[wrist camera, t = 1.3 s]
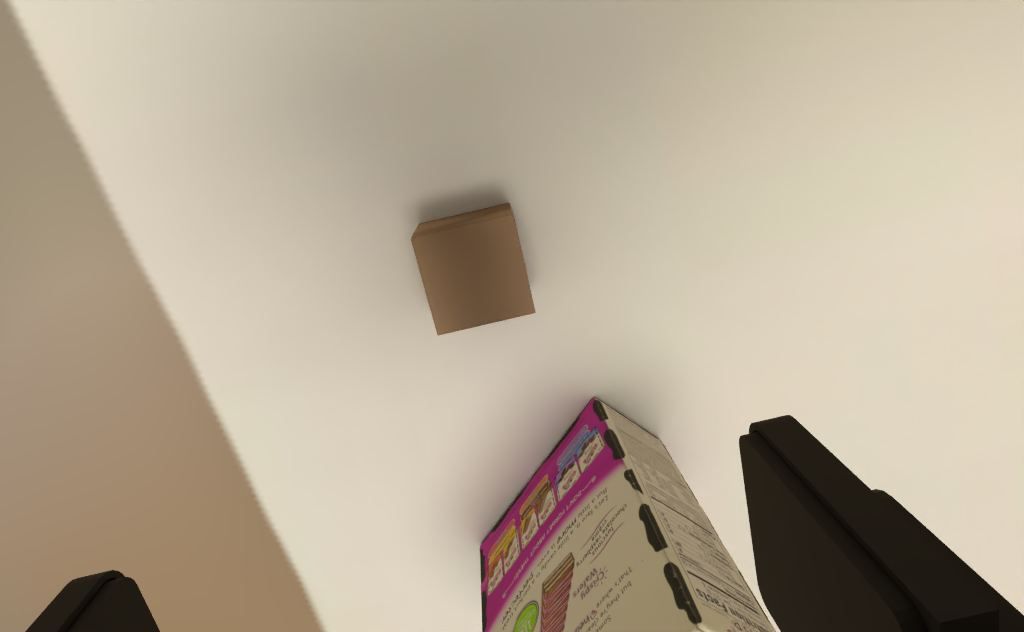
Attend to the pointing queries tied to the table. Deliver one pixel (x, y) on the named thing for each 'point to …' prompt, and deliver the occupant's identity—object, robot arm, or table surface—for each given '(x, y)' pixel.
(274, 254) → the table surface
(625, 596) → the candy bar box
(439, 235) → the walnut block
